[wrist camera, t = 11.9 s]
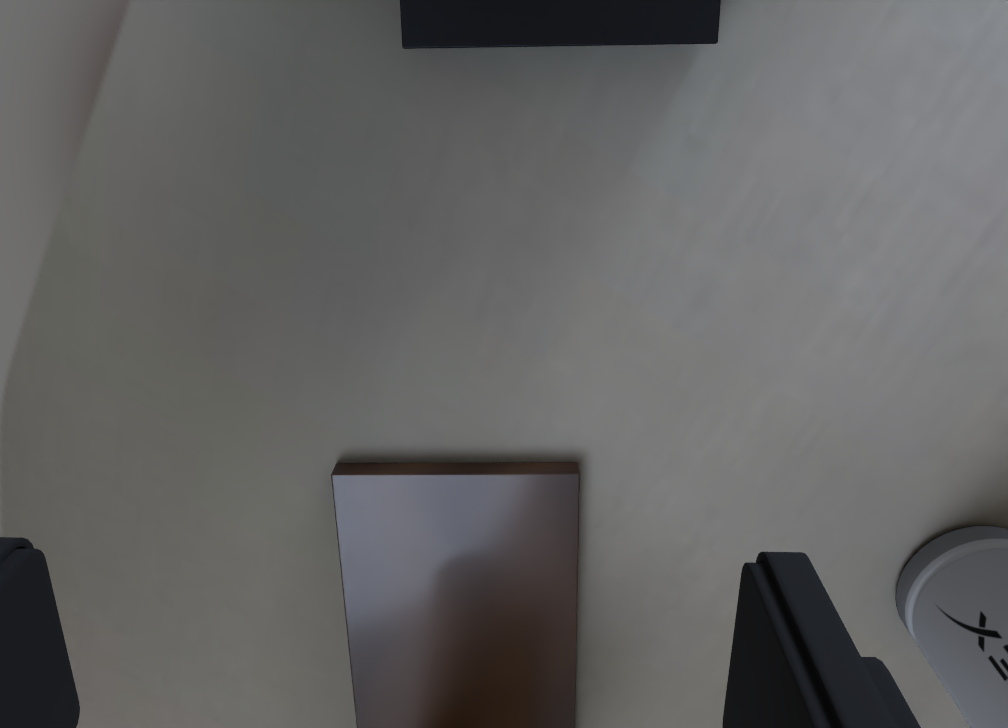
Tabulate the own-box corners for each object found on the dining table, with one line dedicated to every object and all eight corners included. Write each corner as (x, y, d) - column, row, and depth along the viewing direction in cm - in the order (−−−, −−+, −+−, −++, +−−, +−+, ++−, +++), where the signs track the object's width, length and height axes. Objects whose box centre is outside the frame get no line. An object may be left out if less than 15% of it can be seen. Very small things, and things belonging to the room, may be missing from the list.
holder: (370, 808, 42) (366, 825, 41) (335, 462, 35) (330, 474, 34) (572, 809, 42) (573, 827, 41) (578, 461, 35) (579, 473, 34)
